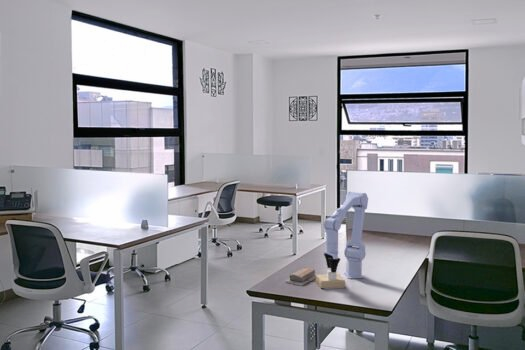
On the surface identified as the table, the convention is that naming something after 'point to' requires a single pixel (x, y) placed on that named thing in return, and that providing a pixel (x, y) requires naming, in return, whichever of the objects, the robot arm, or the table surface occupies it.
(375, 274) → the table surface
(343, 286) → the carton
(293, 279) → the packaged product
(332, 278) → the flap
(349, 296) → the table surface
